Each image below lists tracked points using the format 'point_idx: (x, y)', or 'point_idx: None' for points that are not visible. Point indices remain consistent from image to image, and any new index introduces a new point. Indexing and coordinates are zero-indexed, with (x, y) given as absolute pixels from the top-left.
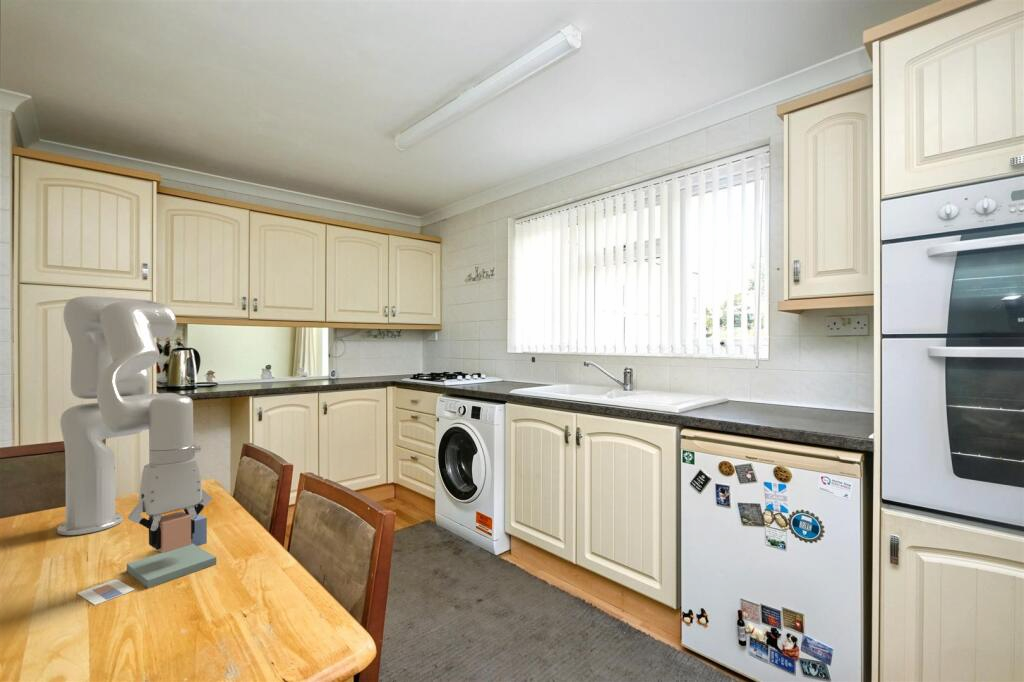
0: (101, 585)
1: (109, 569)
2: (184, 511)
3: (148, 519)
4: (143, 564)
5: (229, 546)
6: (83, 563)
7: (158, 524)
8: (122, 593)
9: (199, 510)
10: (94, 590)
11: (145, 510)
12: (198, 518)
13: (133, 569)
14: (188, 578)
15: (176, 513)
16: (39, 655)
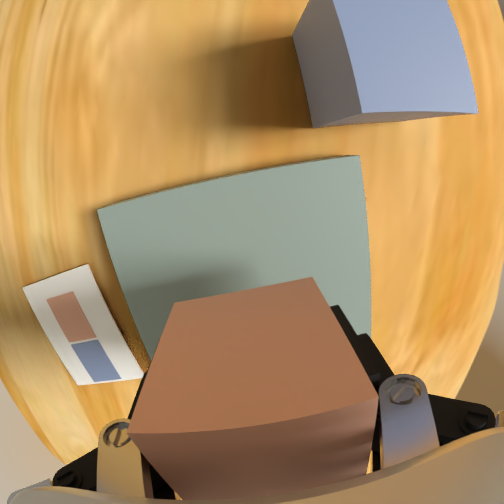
0: (59, 283)
1: (68, 133)
2: (380, 440)
3: (103, 475)
4: (151, 269)
5: (443, 220)
6: (30, 33)
7: (177, 494)
8: (120, 379)
9: (442, 444)
10: (52, 309)
11: (46, 494)
12: (448, 81)
13: (122, 290)
14: None
15: (321, 436)
16: (66, 452)
